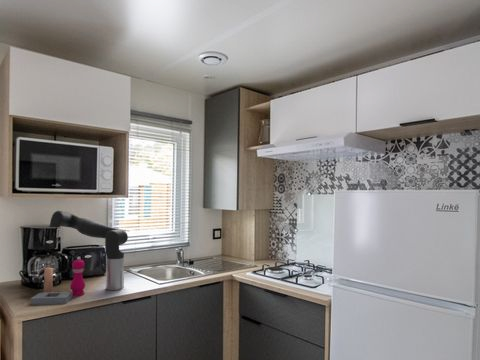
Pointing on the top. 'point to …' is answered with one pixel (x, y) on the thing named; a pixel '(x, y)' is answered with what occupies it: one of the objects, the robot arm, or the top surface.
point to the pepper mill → (78, 278)
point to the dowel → (48, 279)
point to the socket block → (51, 298)
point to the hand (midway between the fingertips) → (48, 280)
